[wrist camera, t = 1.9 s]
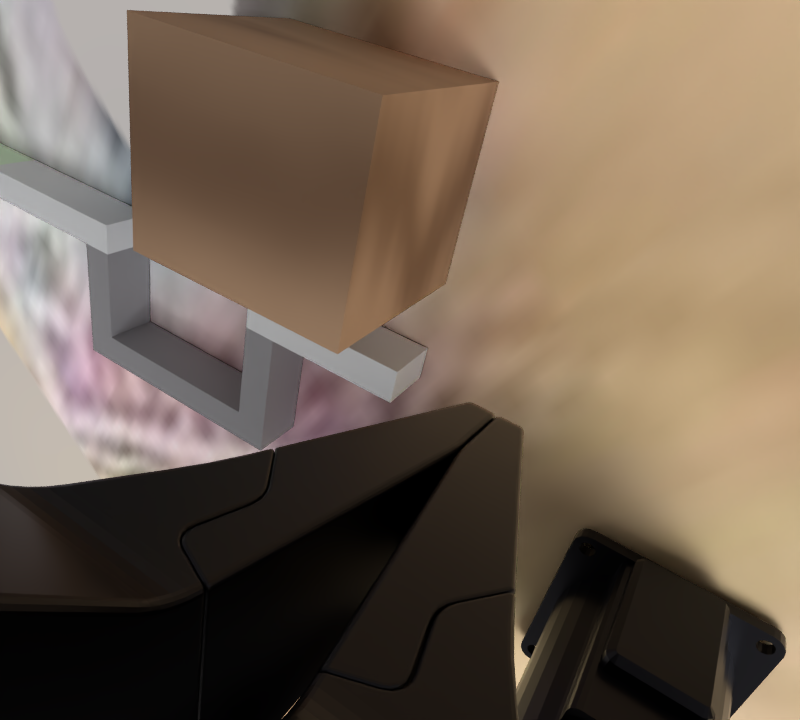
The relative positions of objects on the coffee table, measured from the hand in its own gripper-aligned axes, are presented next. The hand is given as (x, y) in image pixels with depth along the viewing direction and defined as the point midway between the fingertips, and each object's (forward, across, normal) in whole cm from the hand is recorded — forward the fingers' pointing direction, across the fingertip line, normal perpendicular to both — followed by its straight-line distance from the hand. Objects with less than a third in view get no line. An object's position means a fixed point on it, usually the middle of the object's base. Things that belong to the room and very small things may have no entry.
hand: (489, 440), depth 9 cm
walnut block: (+10, +9, 0) cm, 13 cm away
